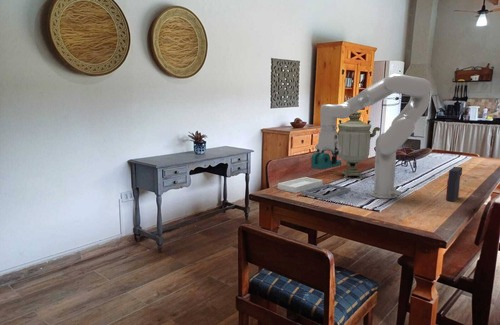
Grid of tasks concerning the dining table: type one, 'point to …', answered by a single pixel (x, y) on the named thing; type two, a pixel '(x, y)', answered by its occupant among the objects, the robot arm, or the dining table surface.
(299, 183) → the parts tray
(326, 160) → the bracket
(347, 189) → the grey rectangular frame
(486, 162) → the dining table surface
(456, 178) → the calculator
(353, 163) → the samovar
